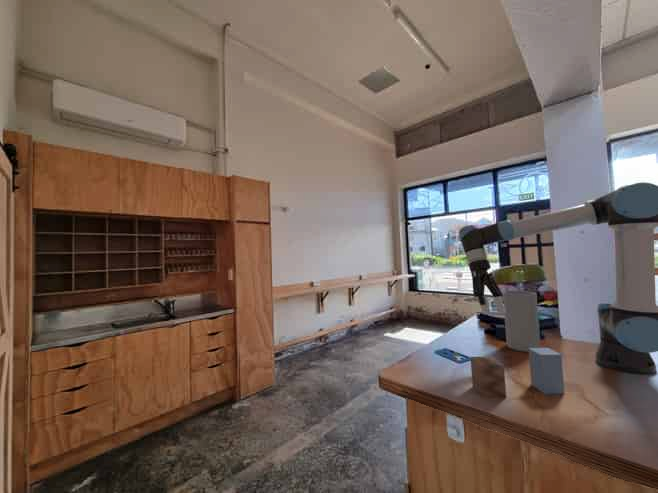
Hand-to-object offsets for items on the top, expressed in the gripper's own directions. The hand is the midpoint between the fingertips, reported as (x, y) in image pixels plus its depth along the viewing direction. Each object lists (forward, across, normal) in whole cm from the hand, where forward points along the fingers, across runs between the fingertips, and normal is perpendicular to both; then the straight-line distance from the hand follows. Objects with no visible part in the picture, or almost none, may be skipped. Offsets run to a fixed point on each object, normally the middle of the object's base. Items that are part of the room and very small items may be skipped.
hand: (494, 313), depth 105 cm
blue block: (+25, +3, +9) cm, 27 cm away
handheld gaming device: (+15, -3, -23) cm, 28 cm away
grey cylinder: (+15, -32, -6) cm, 36 cm away
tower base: (+24, +18, -2) cm, 30 cm away
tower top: (+20, +19, -1) cm, 27 cm away
